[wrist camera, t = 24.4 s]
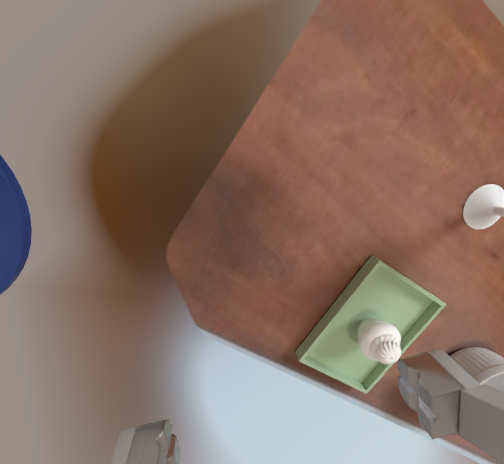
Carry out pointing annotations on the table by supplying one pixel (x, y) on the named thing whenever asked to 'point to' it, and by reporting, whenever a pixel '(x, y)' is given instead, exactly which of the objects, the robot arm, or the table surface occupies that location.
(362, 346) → the muffin
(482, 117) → the table surface
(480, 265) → the table surface
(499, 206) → the champagne flute
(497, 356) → the ramekin
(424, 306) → the tray
